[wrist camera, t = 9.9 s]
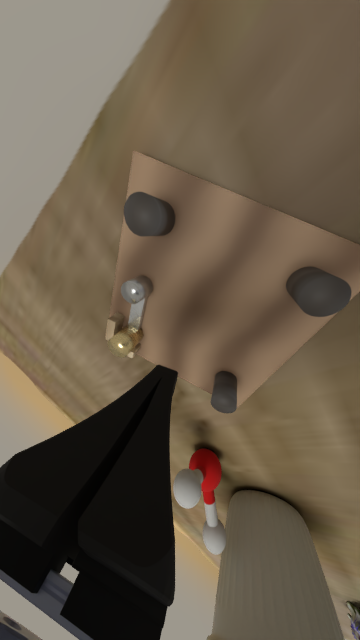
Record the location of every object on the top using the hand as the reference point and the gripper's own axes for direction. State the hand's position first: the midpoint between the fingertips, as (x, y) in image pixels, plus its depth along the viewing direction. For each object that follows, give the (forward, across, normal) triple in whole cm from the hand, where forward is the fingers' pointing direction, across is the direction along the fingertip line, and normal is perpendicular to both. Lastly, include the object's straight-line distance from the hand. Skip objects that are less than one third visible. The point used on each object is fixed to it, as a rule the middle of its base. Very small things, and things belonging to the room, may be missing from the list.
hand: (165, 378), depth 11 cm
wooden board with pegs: (+10, 0, -1) cm, 10 cm away
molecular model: (+10, -8, +27) cm, 30 cm away
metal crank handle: (+8, +7, +1) cm, 11 cm away
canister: (+10, -22, +37) cm, 44 cm away
